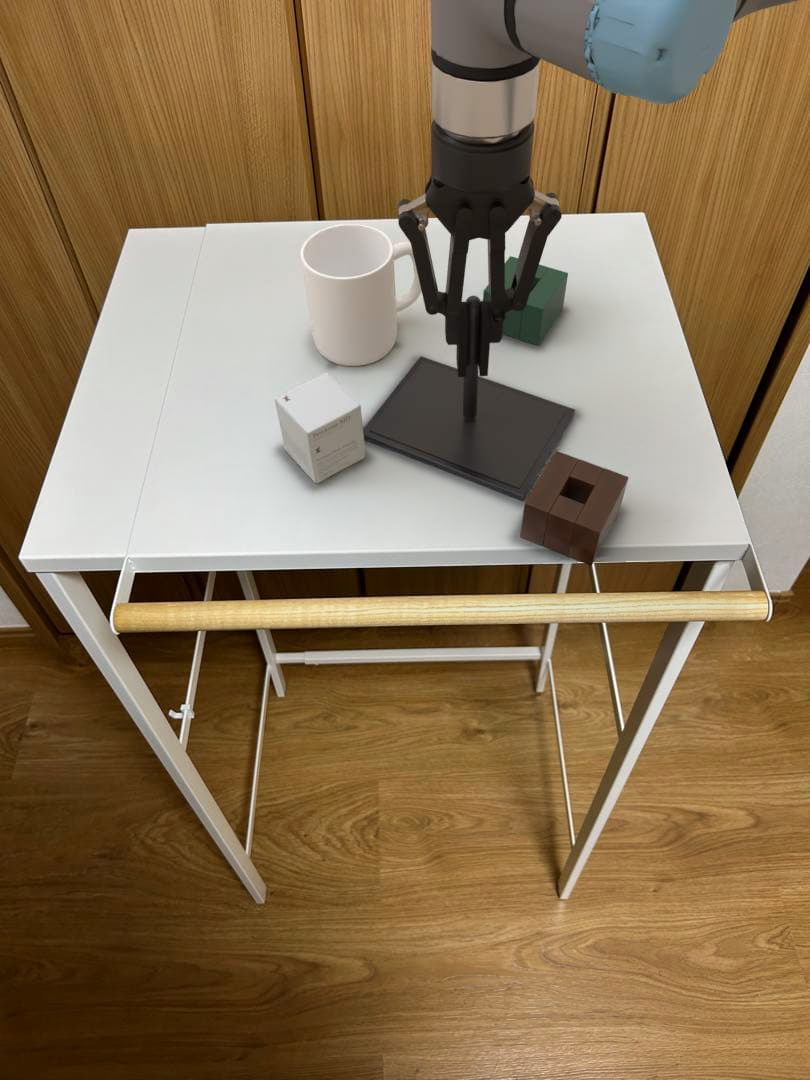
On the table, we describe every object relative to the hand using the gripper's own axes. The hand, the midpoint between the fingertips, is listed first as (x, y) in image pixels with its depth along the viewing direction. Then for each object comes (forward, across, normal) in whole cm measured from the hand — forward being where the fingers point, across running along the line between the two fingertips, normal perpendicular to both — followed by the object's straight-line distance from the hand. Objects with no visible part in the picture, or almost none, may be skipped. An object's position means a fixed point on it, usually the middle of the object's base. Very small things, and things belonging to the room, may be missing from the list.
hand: (471, 366), depth 79 cm
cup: (+8, +10, -15) cm, 19 cm away
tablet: (+8, 0, 0) cm, 8 cm away
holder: (+8, -8, +13) cm, 18 cm away
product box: (+8, +15, +3) cm, 17 cm away
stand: (+8, -7, -16) cm, 19 cm away
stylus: (+7, 0, 0) cm, 7 cm away
